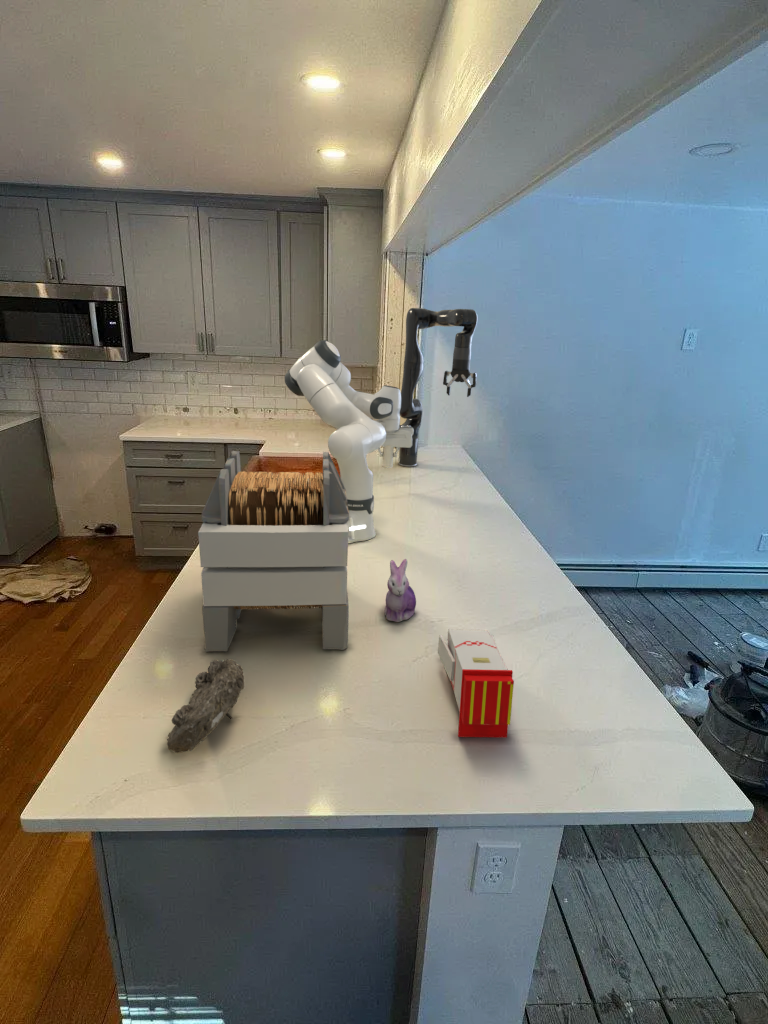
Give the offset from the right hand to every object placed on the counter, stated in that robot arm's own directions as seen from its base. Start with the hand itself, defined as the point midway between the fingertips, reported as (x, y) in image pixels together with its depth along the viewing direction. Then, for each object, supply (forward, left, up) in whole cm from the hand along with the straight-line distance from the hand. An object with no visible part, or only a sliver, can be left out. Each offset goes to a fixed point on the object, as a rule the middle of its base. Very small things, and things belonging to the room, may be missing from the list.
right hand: (458, 395), depth 250 cm
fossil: (+175, -20, -40) cm, 181 cm away
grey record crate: (+136, -24, -40) cm, 144 cm away
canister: (+23, -25, -29) cm, 45 cm away
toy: (+152, +26, -40) cm, 159 cm away
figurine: (+126, +5, -40) cm, 132 cm away
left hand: (+23, -25, -25) cm, 42 cm away
